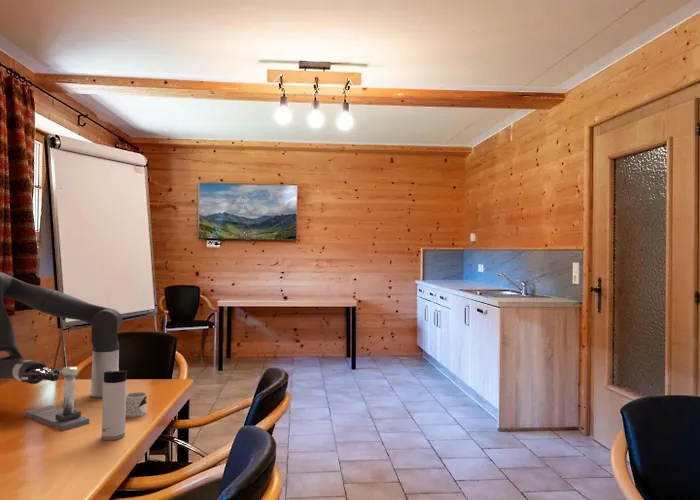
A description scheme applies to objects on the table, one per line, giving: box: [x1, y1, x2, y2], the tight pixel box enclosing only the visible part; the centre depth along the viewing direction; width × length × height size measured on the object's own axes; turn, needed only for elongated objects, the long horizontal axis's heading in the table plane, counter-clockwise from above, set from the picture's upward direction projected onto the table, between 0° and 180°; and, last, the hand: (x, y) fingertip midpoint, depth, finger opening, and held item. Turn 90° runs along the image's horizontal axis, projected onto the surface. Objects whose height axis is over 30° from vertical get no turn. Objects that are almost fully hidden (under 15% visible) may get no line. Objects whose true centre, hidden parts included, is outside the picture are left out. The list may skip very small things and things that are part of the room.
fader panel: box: [24, 405, 90, 431], centre depth 154 cm, size 24×8×2 cm, turn 59°
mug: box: [125, 391, 148, 418], centre depth 162 cm, size 10×7×7 cm
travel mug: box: [101, 369, 128, 441], centre depth 140 cm, size 6×7×20 cm
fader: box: [55, 365, 82, 422], centre depth 150 cm, size 4×6×16 cm
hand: (55, 377), depth 155 cm, fingers closed
